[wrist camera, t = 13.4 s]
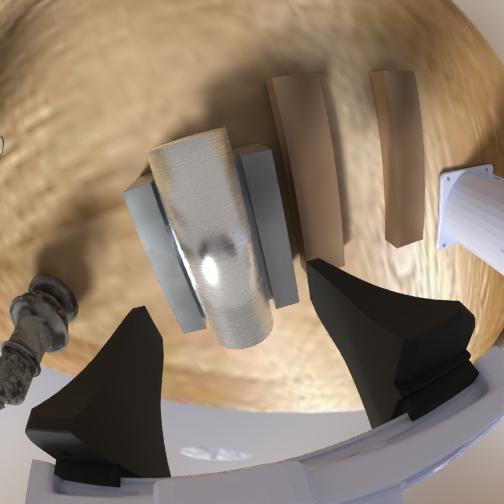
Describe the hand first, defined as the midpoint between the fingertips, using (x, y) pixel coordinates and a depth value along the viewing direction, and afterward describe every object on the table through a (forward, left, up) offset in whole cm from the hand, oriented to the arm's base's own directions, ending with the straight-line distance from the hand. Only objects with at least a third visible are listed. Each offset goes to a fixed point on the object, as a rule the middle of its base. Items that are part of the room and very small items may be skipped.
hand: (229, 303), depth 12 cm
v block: (0, 0, -9) cm, 9 cm away
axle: (0, -1, -4) cm, 4 cm away
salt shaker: (+16, +2, -9) cm, 19 cm away
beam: (-11, -2, -9) cm, 14 cm away
